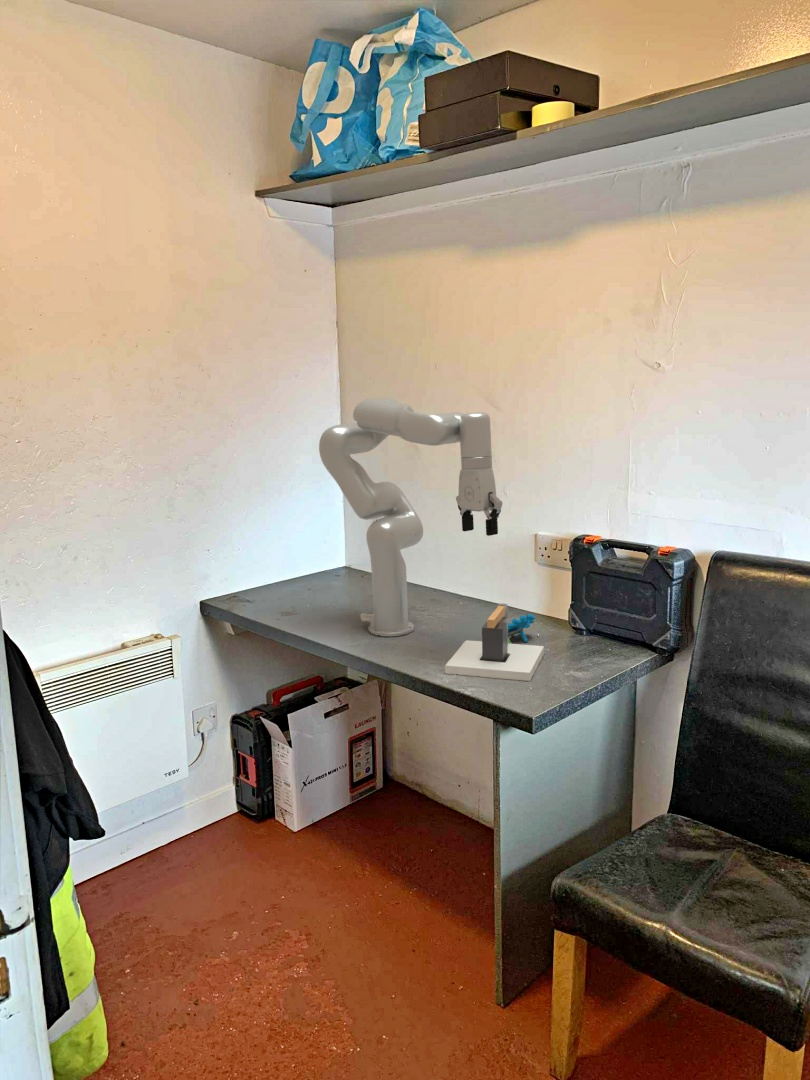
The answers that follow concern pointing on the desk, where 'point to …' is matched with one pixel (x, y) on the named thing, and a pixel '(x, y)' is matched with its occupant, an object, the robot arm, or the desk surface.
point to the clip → (497, 615)
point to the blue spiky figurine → (520, 626)
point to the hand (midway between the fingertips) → (479, 532)
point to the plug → (494, 643)
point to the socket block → (516, 667)
